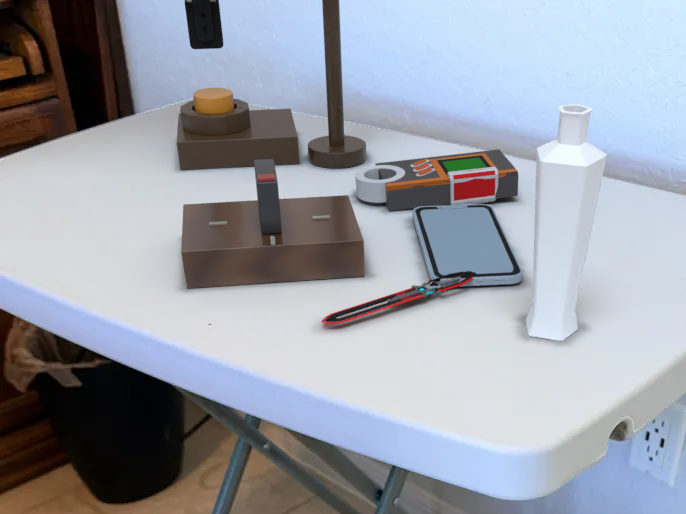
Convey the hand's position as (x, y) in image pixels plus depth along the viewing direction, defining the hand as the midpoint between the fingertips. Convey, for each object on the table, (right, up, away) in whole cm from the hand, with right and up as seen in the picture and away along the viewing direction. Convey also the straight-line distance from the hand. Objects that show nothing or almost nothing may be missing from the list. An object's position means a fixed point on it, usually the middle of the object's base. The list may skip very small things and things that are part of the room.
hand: (207, 46), depth 91 cm
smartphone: (+25, -24, -13) cm, 37 cm away
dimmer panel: (+9, -25, -14) cm, 30 cm away
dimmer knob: (+9, -23, -16) cm, 29 cm away
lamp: (+12, -9, +5) cm, 16 cm away
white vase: (+30, -33, -24) cm, 51 cm away
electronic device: (+22, -16, -3) cm, 28 cm away
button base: (+2, -7, +7) cm, 10 cm away
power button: (0, -5, +4) cm, 6 cm away
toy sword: (+19, -31, -21) cm, 42 cm away
